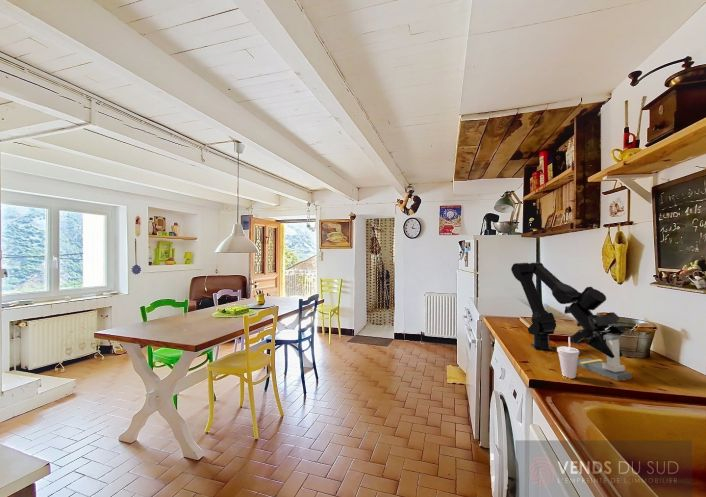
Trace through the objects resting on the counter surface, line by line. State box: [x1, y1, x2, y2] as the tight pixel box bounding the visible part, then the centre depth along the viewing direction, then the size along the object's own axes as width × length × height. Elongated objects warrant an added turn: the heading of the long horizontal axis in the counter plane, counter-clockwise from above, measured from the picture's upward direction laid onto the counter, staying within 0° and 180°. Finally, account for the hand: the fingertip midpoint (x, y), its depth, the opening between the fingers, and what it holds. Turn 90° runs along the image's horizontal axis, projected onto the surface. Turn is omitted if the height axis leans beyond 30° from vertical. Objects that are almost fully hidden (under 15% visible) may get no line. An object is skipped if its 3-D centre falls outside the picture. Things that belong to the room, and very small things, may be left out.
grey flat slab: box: [577, 357, 632, 381], centre depth 107 cm, size 14×9×2 cm, turn 12°
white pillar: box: [602, 334, 626, 372], centre depth 104 cm, size 4×4×12 cm
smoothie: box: [556, 336, 580, 378], centre depth 104 cm, size 6×6×14 cm
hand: (617, 356), depth 102 cm, fingers closed on white pillar, 3 cm apart
